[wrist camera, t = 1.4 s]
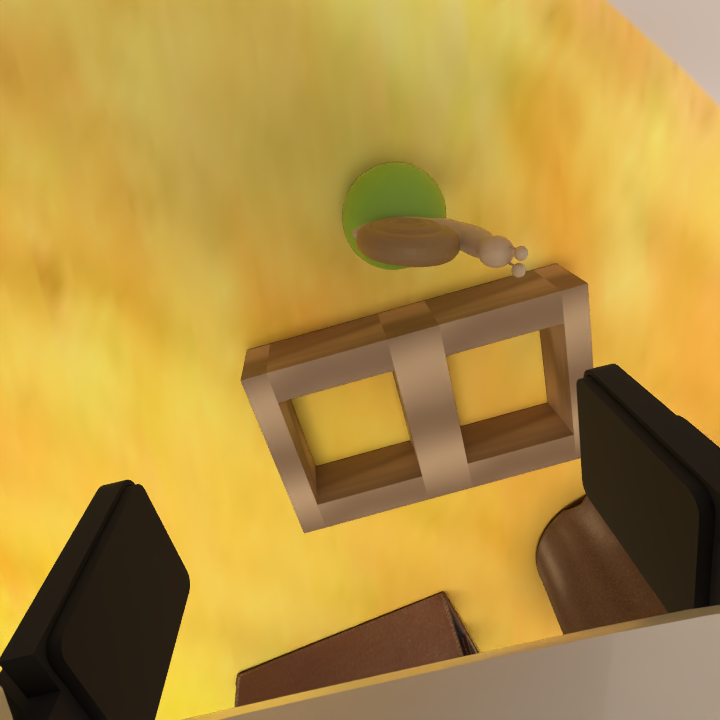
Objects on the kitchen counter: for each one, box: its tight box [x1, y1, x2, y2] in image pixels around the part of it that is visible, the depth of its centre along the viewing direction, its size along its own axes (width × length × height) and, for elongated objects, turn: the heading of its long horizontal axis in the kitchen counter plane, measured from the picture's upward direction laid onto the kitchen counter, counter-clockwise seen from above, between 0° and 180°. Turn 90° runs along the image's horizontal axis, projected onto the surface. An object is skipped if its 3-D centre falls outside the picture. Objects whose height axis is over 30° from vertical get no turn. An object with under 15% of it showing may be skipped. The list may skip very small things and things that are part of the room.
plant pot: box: [536, 496, 669, 635], centre depth 37 cm, size 16×16×16 cm
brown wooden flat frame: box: [241, 264, 593, 533], centre depth 34 cm, size 12×20×4 cm, turn 105°
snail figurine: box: [342, 162, 528, 277], centre depth 25 cm, size 5×6×12 cm
